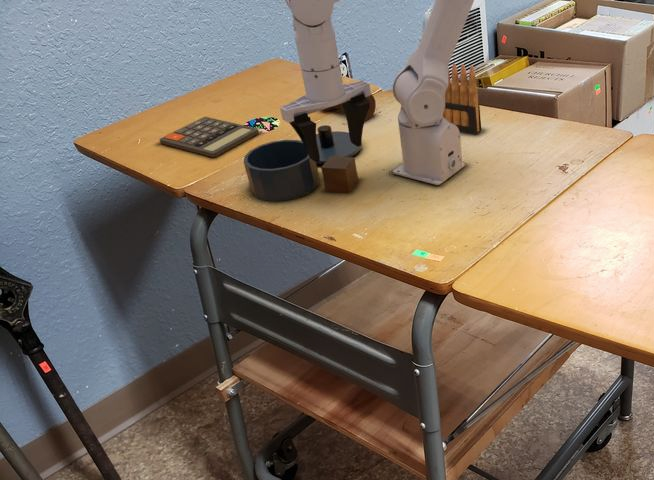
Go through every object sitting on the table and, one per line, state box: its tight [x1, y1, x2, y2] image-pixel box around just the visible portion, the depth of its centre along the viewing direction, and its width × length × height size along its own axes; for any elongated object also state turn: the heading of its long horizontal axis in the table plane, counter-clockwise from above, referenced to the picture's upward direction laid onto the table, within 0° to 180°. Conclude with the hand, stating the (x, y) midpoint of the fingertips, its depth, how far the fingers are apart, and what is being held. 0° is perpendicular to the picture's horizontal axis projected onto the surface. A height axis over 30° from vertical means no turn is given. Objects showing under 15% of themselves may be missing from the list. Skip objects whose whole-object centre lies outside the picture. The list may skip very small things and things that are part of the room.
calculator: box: [159, 116, 260, 158], centre depth 135 cm, size 12×1×15 cm
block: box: [320, 156, 359, 194], centre depth 115 cm, size 4×4×4 cm
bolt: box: [324, 93, 377, 122], centre depth 140 cm, size 6×5×15 cm
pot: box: [243, 139, 320, 202], centre depth 116 cm, size 11×11×5 cm
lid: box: [300, 124, 363, 165], centre depth 126 cm, size 12×12×4 cm
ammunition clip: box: [443, 62, 482, 135], centre depth 127 cm, size 11×2×12 cm, turn 60°
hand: (335, 151), depth 113 cm, fingers open, 7 cm apart
